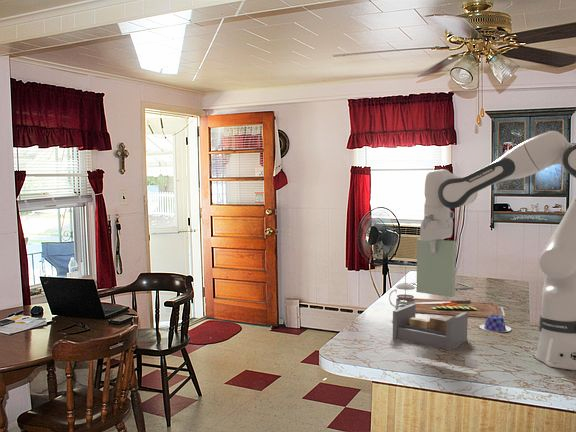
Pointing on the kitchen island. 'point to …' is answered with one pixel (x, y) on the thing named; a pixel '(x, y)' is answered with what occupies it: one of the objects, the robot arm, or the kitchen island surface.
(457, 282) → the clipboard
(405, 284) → the french press
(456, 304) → the chopping board
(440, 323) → the offcut walnut
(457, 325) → the rack
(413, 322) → the offcut oak
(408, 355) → the kitchen island surface
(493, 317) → the pudding
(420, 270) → the tall panel
